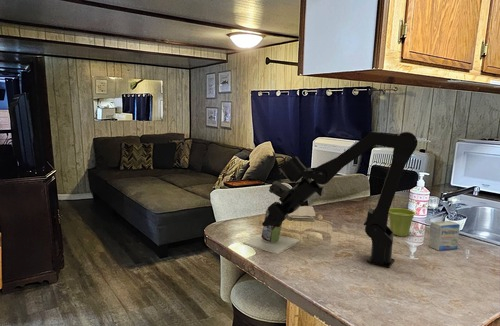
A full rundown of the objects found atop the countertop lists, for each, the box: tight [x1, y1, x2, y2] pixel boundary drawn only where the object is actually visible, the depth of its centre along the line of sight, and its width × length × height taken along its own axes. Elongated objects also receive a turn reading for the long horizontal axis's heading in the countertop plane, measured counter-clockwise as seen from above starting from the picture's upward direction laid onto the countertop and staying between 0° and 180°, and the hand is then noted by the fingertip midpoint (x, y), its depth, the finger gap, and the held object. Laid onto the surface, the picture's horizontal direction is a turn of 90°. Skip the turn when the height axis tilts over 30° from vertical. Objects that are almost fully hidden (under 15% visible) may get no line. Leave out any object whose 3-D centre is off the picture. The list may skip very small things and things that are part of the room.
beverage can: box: [261, 208, 283, 243], centre depth 116 cm, size 6×7×12 cm
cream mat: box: [242, 233, 300, 255], centre depth 117 cm, size 14×14×1 cm
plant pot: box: [388, 207, 416, 237], centre depth 127 cm, size 9×9×9 cm
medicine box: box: [428, 220, 461, 252], centre depth 114 cm, size 8×4×9 cm, turn 105°
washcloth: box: [287, 205, 316, 222], centre depth 150 cm, size 12×18×3 cm, turn 176°
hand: (268, 221), depth 116 cm, fingers open, 9 cm apart
